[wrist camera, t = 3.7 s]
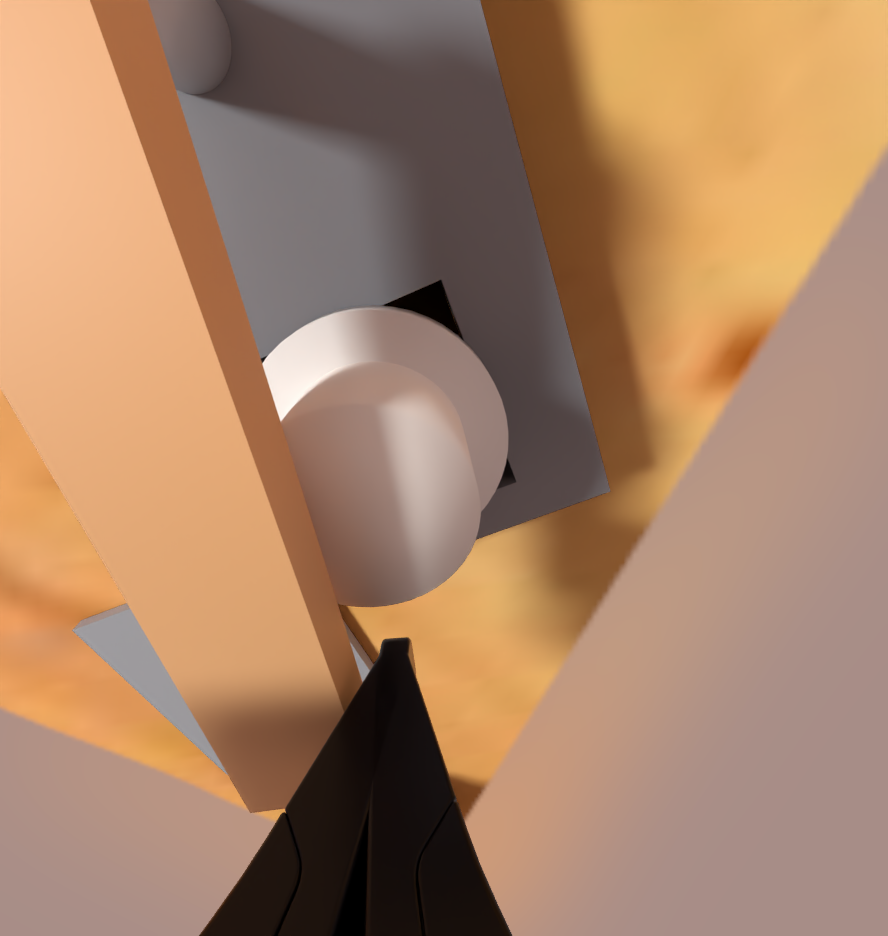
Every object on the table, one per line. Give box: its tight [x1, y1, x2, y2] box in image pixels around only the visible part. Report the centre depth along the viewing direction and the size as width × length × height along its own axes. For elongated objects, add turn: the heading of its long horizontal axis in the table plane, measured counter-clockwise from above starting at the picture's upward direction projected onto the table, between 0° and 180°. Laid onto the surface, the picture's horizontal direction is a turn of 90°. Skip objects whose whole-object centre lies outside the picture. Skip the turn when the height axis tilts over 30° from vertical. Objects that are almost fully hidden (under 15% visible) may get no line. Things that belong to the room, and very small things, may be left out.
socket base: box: [148, 0, 610, 539], centre depth 10 cm, size 13×10×7 cm
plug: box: [262, 305, 508, 607], centre depth 11 cm, size 6×6×7 cm
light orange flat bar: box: [0, 0, 363, 813], centre depth 6 cm, size 14×3×1 cm, turn 8°
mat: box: [72, 603, 374, 775], centre depth 18 cm, size 10×9×1 cm
